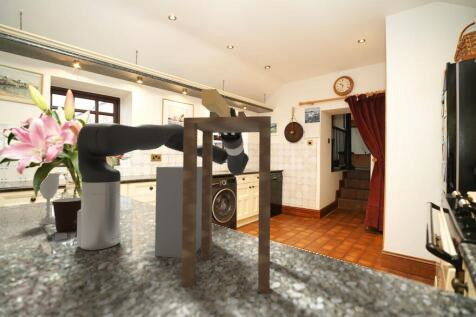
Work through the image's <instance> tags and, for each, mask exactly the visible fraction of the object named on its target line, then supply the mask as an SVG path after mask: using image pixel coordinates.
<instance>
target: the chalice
mask: <svg viewBox="0 0 476 317" xmlns="http://www.w3.org/2000/svg"><path fill="white" fill-rule="evenodd" d="M48 173H49V172H48ZM60 175H61V173H57V172H53V173H51V172H50V173H49V175H48V177H47V178H46V179H45V180H44V181H43V183H42V184H41V186H40V189H39V188H38V191H39V193H40V195H41V196H42V198H43V199H45V200H46V203H45V206H46V208H45V212H46V214H45V215H44V216H42V217H41V219H40V222H39V223H38V225H42V226H43V225H51V223H52V224H55V223H54V222H55V217H54V215H51V213H50V212H51V210H52V209H51V204H52V203H51V199H54V197H55V196H56V193H57V192H58V189H59V188H60V187H59V186H60Z"/></svg>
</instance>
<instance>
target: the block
mask: <svg viewBox="0 0 476 317" xmlns="http://www.w3.org/2000/svg"><path fill="white" fill-rule="evenodd" d="M155 168H156V170H155V171H156V172H155V219H154V220H155V225H154V227H155V229H154V232H155V233H154V234H155V235H154V257H164V258H176V259H177V258H178V259H182V214H183V165H181V166H180V165H177V166H175V165H174V166H156V167H155ZM201 217H202V165H200V166H198V165H197V205H196V253H197V252H198V251H199V249H201Z"/></svg>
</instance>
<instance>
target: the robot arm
mask: <svg viewBox="0 0 476 317" xmlns="http://www.w3.org/2000/svg"><path fill="white" fill-rule="evenodd" d="M229 107H230V114H231V117H238V114H236V112H237V111H236V109H235V108H233V106H232V107H231V106H229ZM242 133H243V132H240V133H218V134H219V135H220V138H221V141H222V145H223V147H224V148H223V147H220V146H217V145H214V144H213V163H215V164H218V165H220V166H221V165H224V164H225V163H226V162H227V166H226V167H227V170H228V172H230V173H231V175H233V176H241V175H243V173H244V171H245V169H246V167H247V165H248V163H249V160H250V158H249V155H248V154H247V153H246V152H245V148H244V139H243V134H242ZM183 142H184V125H181V124H176V123H166V124H153V123H151V124H150V123H149V124H148V123H145V124H142V123H141V124H138V125H136V126H132V125H125V124H121V123H117V122H116V123H114V122H96V123H95V122H94V123H93V122H92V123H87V124H83V126H82V127H81V128H80V130H79V133H78V135H77V162H78V163H77V166H78V171H79V173H80V175H81V191H80V192H81V197H80V198H81V210H79V211H78V212H77V230H76V247H77V248H80V249H82V250H85V251H87V250H89V251H96V250H97V251H98V250H104V249H107V248H110V247H113V246H116V245H118V244H119V243H120V234H121V233H120V230H121V229H120V224H121V222H120V220H121V179H122V178H121V177H122V176H121V171H120V170H119V169H116V168H114V167H112V166H111V165H110V164H109V163H108V160H107V157H109V158H110V157H111V158H112V157H117V156H122V155H125V154H127V153H130V152H133V151H151V150H156V149H159V148H161V147H162V146H164V147H166V148H167V149H170V150H174V151H177V152H180V153H183ZM197 158H202V144H200V145H197Z"/></svg>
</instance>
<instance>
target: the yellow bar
mask: <svg viewBox="0 0 476 317" xmlns="http://www.w3.org/2000/svg"><path fill="white" fill-rule="evenodd" d="M201 105H202V106H203V107H204V108H205V109H206V110H207V111H208V112H209V113H210V112H216V113H217V114H218V115H219V116H220V117H231V114H230V107H231V106H229V104H228V103H227V102H226V100H225V99H224V97H223V96H222V95H221V94H220V92H219V91H218V90H217V88H212V89H211V88H210V89H209V88H208V89H207V88H205V89H201Z"/></svg>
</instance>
